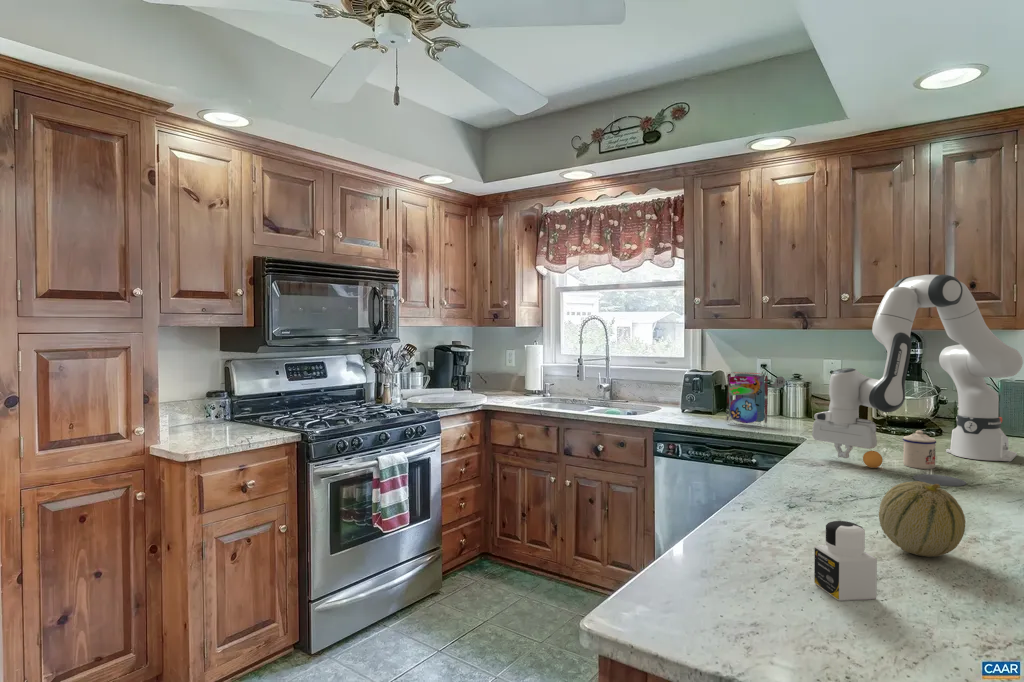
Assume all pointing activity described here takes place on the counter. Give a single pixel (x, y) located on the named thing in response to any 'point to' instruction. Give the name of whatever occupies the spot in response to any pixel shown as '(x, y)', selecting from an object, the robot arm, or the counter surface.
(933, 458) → the teacup with lid
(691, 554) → the counter surface
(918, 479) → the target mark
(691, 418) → the counter surface
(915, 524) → the cantaloupe
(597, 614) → the counter surface
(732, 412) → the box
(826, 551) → the medicine bottle
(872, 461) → the ball
